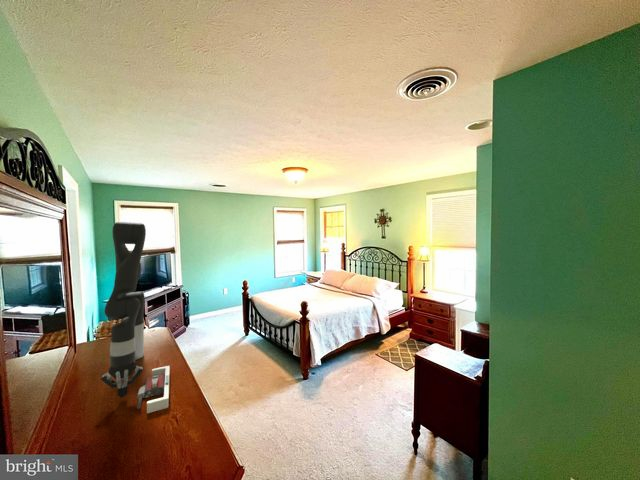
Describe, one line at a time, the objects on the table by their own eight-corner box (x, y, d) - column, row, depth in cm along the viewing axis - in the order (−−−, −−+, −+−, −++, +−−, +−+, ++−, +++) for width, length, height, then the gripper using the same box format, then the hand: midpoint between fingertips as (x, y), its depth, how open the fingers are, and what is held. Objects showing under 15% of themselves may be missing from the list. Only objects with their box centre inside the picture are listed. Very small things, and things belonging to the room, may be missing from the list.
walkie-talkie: (140, 383, 107) (134, 413, 89) (140, 373, 107) (134, 401, 89) (165, 378, 111) (163, 405, 94) (165, 368, 111) (164, 393, 94)
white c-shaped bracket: (152, 376, 111) (152, 367, 111) (169, 373, 115) (169, 364, 115) (146, 413, 89) (146, 402, 89) (168, 407, 92) (168, 396, 92)
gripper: (144, 343, 102) (144, 385, 102) (102, 350, 95) (102, 396, 96) (143, 351, 96) (143, 396, 96) (97, 359, 89) (97, 407, 89)
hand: (122, 395), depth 96 cm, fingers closed
